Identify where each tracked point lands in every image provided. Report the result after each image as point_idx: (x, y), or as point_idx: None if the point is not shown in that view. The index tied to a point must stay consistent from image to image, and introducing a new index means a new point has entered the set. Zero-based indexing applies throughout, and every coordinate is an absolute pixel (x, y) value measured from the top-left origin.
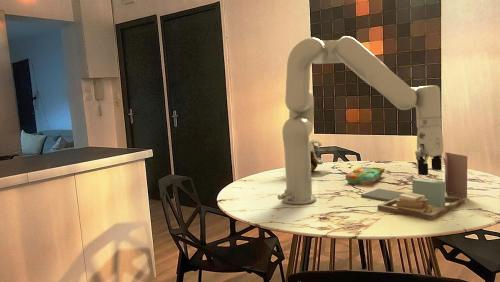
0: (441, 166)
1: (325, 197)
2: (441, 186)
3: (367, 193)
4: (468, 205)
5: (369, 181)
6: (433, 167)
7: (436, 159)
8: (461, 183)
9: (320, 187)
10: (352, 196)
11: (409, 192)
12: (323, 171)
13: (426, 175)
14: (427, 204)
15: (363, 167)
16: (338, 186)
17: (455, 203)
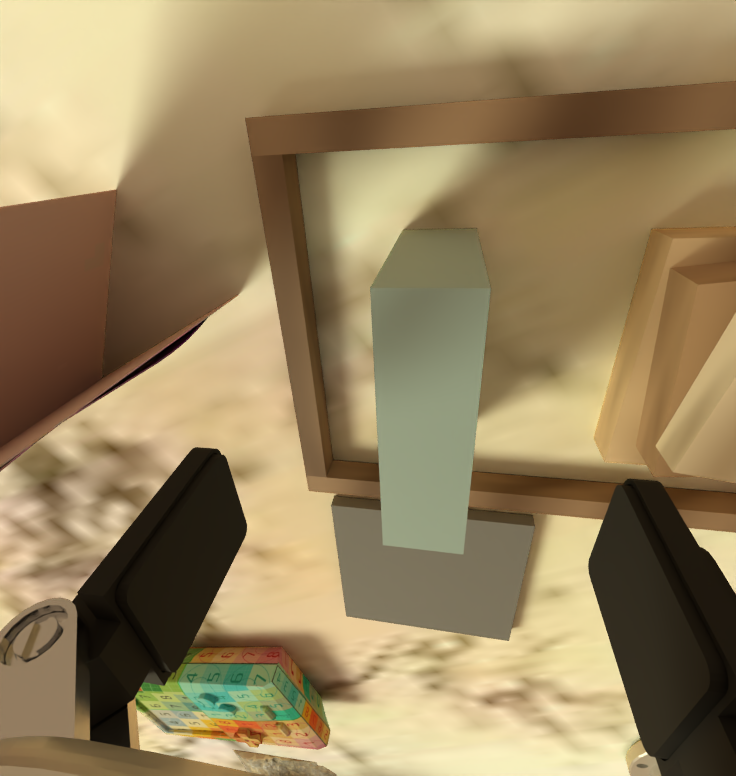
0: (169, 478)
1: (603, 713)
2: (477, 276)
3: (469, 628)
4: (294, 58)
5: (283, 666)
6: (232, 538)
7: (149, 629)
8: (27, 272)
9: (451, 744)
10: (523, 653)
11: (678, 465)
12: (257, 770)
13: (649, 486)
14: (699, 269)
15: (163, 727)
16: (394, 711)
17: (441, 110)
